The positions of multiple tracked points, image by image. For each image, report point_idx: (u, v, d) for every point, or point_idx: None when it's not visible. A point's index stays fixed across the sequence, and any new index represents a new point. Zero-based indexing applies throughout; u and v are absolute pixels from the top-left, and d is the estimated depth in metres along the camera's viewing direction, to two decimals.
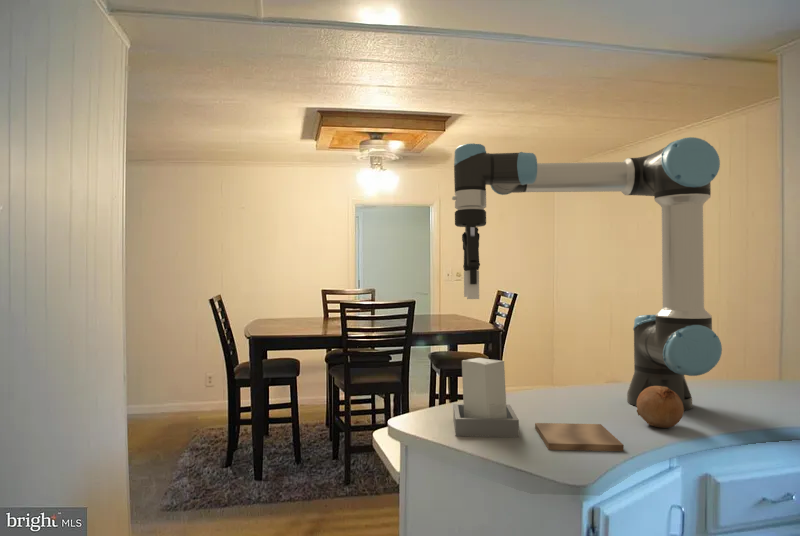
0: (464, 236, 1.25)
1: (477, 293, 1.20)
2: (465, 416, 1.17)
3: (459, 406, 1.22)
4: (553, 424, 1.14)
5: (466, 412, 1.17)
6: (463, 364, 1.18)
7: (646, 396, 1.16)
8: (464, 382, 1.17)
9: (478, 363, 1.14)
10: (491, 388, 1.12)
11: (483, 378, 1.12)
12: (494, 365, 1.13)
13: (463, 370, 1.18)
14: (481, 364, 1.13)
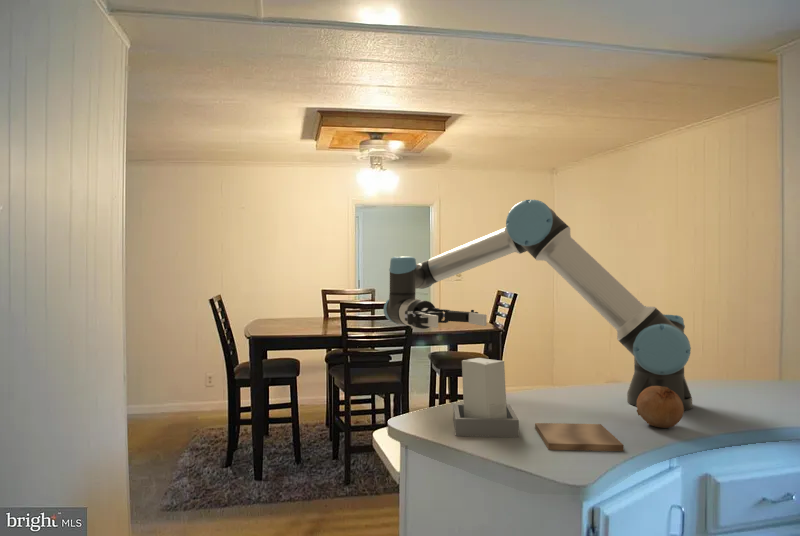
0: None
1: (432, 317, 1.23)
2: (465, 416, 1.17)
3: (459, 406, 1.22)
4: (553, 424, 1.14)
5: (466, 412, 1.17)
6: (463, 364, 1.18)
7: (646, 396, 1.16)
8: (464, 382, 1.17)
9: (478, 363, 1.14)
10: (491, 388, 1.12)
11: (483, 378, 1.12)
12: (494, 365, 1.13)
13: (463, 370, 1.18)
14: (481, 364, 1.13)
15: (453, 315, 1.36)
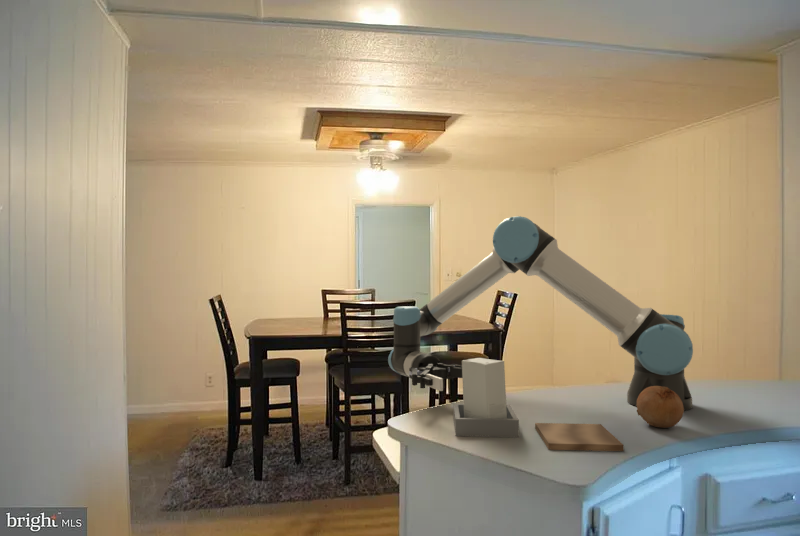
0: None
1: (437, 379, 1.20)
2: (465, 416, 1.17)
3: (459, 406, 1.22)
4: (553, 424, 1.14)
5: (466, 412, 1.17)
6: (463, 364, 1.18)
7: (646, 396, 1.16)
8: (464, 382, 1.17)
9: (478, 363, 1.14)
10: (491, 388, 1.12)
11: (483, 378, 1.12)
12: (494, 365, 1.13)
13: (463, 370, 1.18)
14: (481, 364, 1.13)
15: (459, 372, 1.33)
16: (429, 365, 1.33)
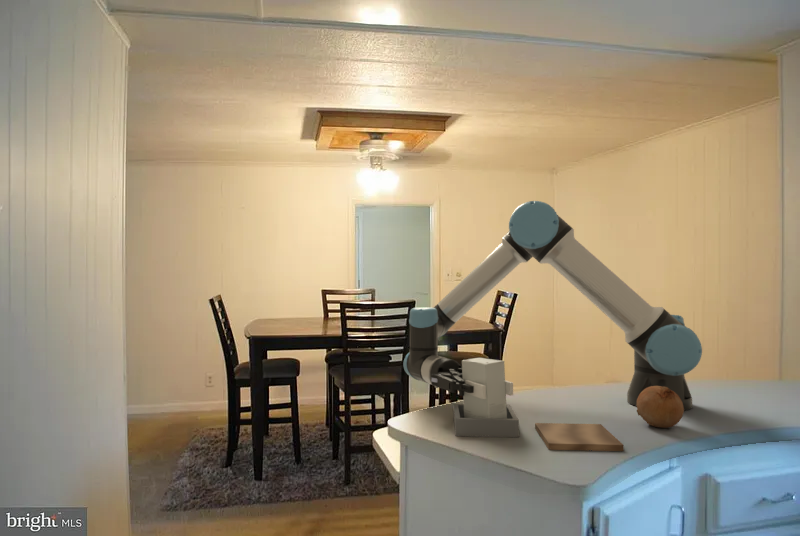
0: None
1: (479, 386, 1.11)
2: (465, 416, 1.17)
3: (459, 406, 1.22)
4: (553, 424, 1.14)
5: (466, 412, 1.17)
6: (463, 364, 1.18)
7: (646, 396, 1.16)
8: (464, 381, 1.17)
9: (478, 363, 1.14)
10: (491, 388, 1.12)
11: (483, 378, 1.12)
12: (494, 365, 1.13)
13: (463, 370, 1.18)
14: (481, 364, 1.13)
15: None
16: (451, 370, 1.25)
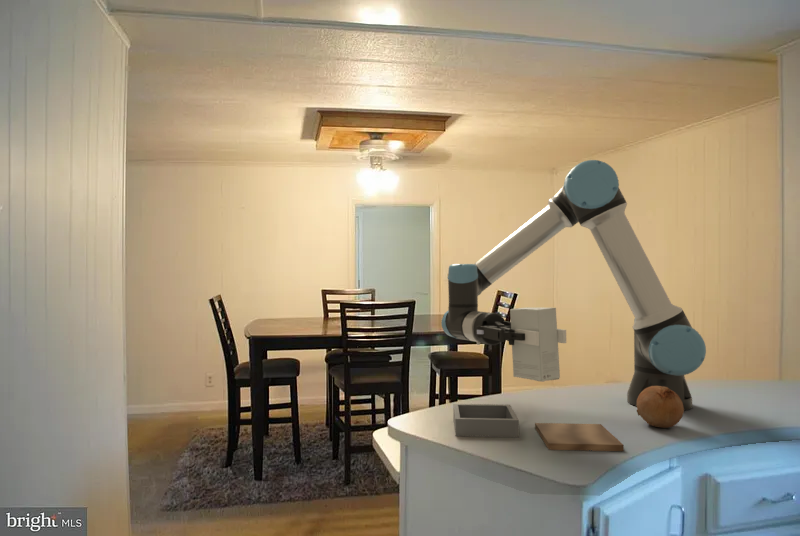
0: None
1: (531, 333, 1.06)
2: (514, 367, 1.12)
3: (459, 406, 1.22)
4: (553, 424, 1.14)
5: (515, 363, 1.12)
6: (512, 313, 1.13)
7: (646, 396, 1.16)
8: None
9: (529, 310, 1.09)
10: (543, 335, 1.07)
11: (535, 325, 1.07)
12: (546, 311, 1.08)
13: (512, 319, 1.13)
14: (533, 310, 1.08)
15: None
16: (497, 323, 1.20)
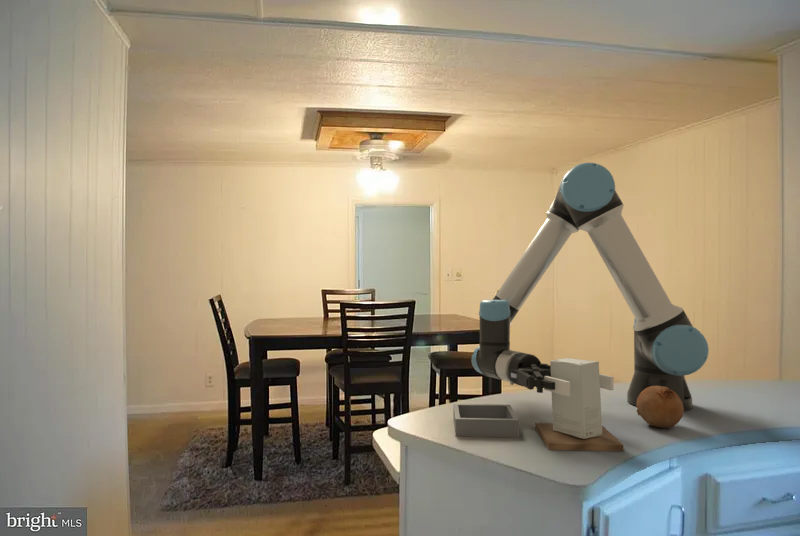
0: None
1: (562, 383, 1.03)
2: (554, 420, 1.09)
3: (459, 406, 1.22)
4: None
5: (555, 416, 1.09)
6: (552, 364, 1.10)
7: (646, 396, 1.16)
8: None
9: (571, 363, 1.06)
10: (586, 391, 1.04)
11: (577, 380, 1.04)
12: (589, 366, 1.05)
13: (552, 371, 1.10)
14: (575, 364, 1.05)
15: None
16: (533, 366, 1.17)
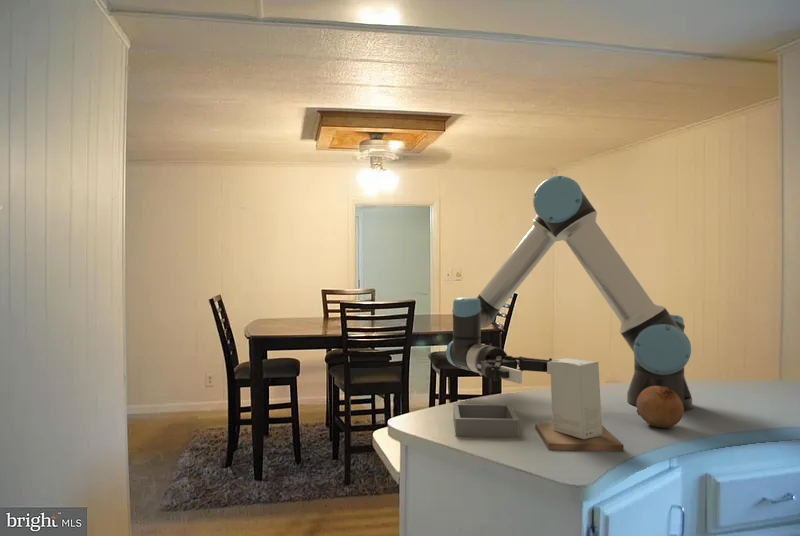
0: None
1: (515, 371, 1.14)
2: (554, 421, 1.09)
3: (459, 406, 1.22)
4: None
5: (555, 416, 1.09)
6: (552, 365, 1.10)
7: (646, 396, 1.16)
8: (553, 383, 1.09)
9: (571, 364, 1.06)
10: (586, 391, 1.04)
11: (577, 380, 1.04)
12: (589, 366, 1.05)
13: (552, 371, 1.10)
14: (574, 365, 1.05)
15: (529, 364, 1.28)
16: (498, 357, 1.28)
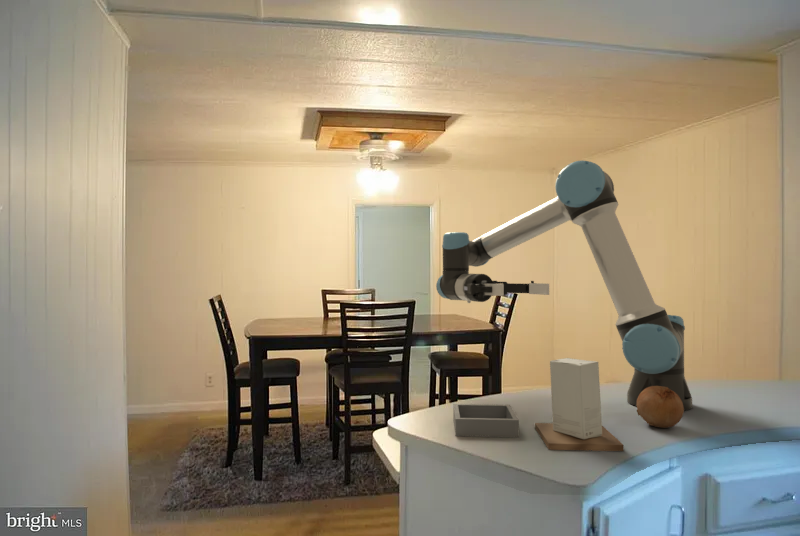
0: None
1: (497, 285, 1.23)
2: (554, 421, 1.09)
3: (459, 406, 1.22)
4: None
5: (555, 416, 1.09)
6: (552, 365, 1.10)
7: (646, 396, 1.16)
8: (553, 383, 1.09)
9: (571, 364, 1.06)
10: (586, 391, 1.04)
11: (577, 380, 1.04)
12: (589, 366, 1.05)
13: (552, 371, 1.10)
14: (574, 365, 1.05)
15: (513, 287, 1.36)
16: (483, 281, 1.37)
